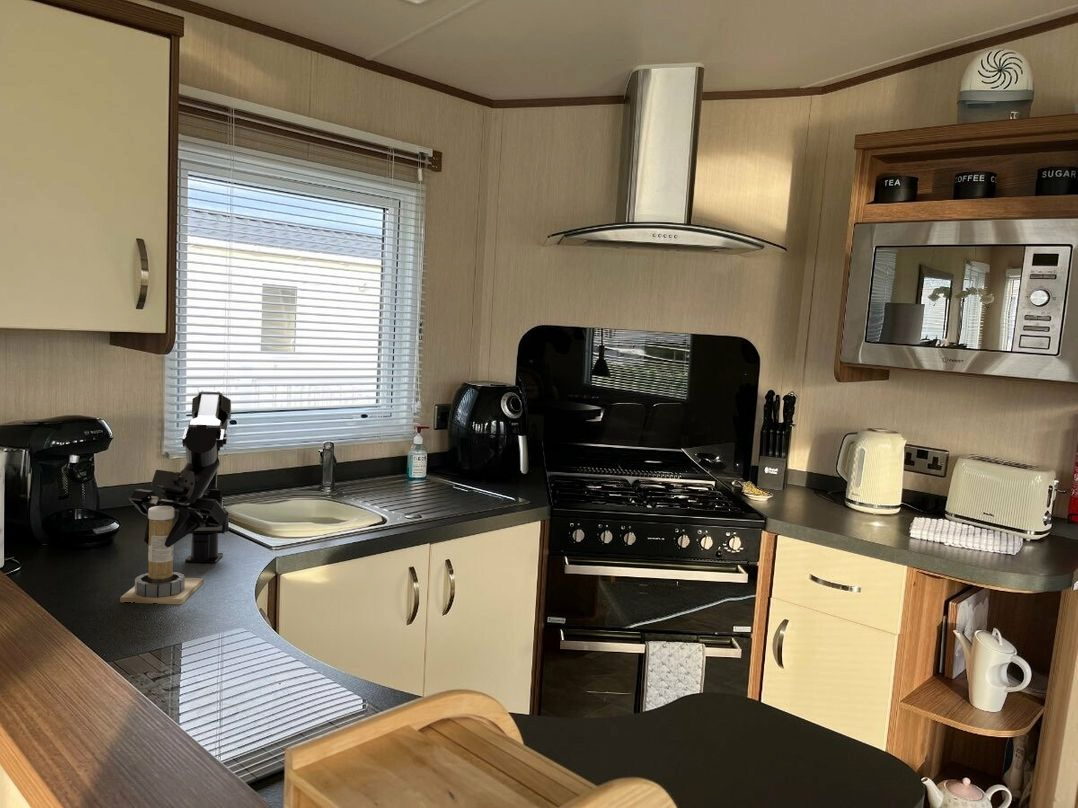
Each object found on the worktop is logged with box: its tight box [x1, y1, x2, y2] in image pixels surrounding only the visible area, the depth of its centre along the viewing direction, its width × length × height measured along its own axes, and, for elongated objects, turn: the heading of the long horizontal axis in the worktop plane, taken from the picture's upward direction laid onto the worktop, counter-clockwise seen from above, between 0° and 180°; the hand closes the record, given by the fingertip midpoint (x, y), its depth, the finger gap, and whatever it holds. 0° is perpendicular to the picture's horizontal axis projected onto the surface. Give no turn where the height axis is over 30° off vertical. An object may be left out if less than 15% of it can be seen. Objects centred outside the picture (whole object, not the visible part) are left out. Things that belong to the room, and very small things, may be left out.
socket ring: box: [134, 571, 186, 598], centre depth 163 cm, size 8×8×2 cm
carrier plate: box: [119, 577, 204, 605], centre depth 165 cm, size 13×11×2 cm
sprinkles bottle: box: [147, 506, 175, 579], centre depth 162 cm, size 5×5×14 cm
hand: (156, 544), depth 161 cm, fingers closed on sprinkles bottle, 4 cm apart
